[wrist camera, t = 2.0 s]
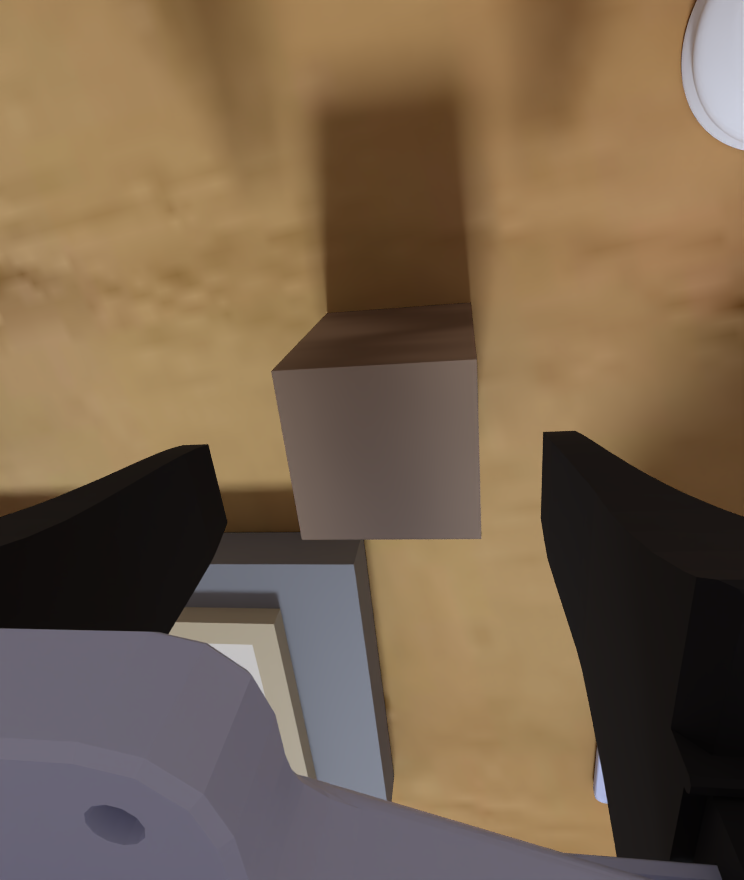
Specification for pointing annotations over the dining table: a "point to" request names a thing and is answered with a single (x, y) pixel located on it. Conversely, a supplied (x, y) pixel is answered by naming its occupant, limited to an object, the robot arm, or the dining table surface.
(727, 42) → the chess piece
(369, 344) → the walnut block
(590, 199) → the dining table surface
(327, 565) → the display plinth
